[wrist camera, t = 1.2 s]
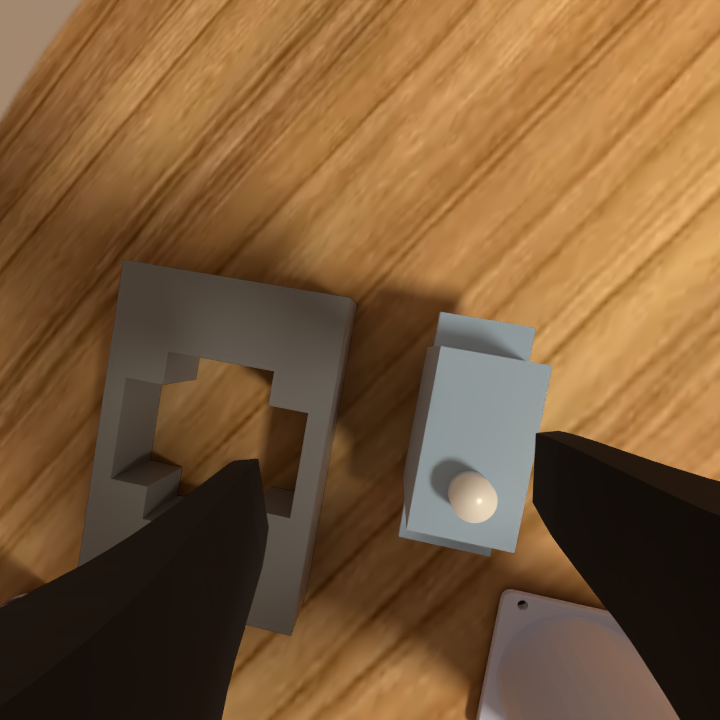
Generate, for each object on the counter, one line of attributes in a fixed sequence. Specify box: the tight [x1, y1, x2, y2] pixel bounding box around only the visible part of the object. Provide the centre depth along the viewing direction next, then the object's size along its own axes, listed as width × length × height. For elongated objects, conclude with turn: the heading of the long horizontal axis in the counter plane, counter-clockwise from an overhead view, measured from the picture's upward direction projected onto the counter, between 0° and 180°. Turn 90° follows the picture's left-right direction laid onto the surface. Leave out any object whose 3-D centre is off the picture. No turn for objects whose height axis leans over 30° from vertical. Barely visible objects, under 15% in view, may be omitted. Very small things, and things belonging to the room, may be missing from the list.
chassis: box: [78, 260, 357, 636], centre depth 19 cm, size 11×16×3 cm
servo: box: [398, 312, 552, 557], centre depth 17 cm, size 4×10×7 cm, turn 170°
